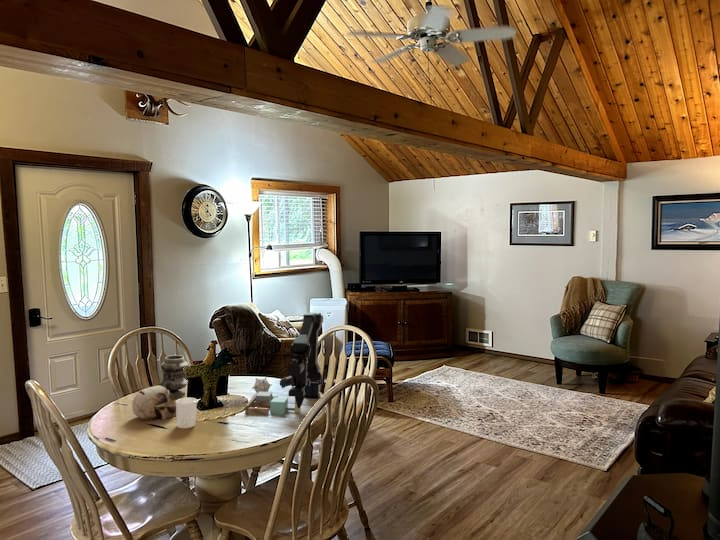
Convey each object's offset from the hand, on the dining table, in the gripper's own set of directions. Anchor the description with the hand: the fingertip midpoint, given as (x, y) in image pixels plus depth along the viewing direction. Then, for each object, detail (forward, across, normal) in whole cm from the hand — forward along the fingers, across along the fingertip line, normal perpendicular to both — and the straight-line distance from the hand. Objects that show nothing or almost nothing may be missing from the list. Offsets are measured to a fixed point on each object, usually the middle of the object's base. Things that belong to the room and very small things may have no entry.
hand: (299, 406), depth 219 cm
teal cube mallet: (+2, 0, -6) cm, 6 cm away
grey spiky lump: (+3, -22, -22) cm, 31 cm away
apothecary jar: (+3, -16, -62) cm, 64 cm away
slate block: (+3, -8, -18) cm, 20 cm away
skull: (+3, +11, -57) cm, 58 cm away
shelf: (+2, -4, -17) cm, 18 cm away
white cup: (+3, +21, -41) cm, 46 cm away
